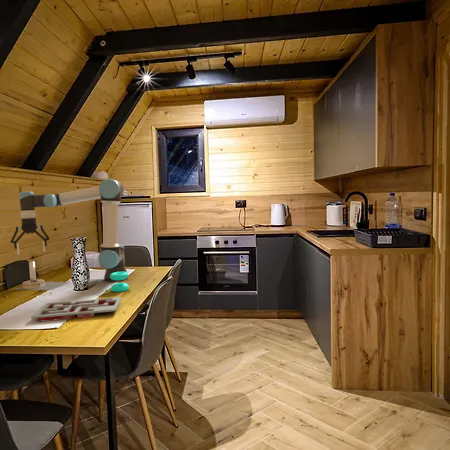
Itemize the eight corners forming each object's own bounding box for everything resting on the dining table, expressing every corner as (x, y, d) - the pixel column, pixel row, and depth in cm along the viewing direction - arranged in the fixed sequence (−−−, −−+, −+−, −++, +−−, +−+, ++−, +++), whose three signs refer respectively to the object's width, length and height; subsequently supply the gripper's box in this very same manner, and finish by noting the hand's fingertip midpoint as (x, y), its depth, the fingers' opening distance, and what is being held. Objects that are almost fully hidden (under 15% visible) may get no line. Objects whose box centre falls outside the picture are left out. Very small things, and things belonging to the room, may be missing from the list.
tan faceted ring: (48, 284, 209) (48, 279, 209) (35, 288, 199) (35, 283, 198) (32, 284, 211) (32, 279, 211) (19, 288, 201) (18, 283, 200)
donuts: (115, 271, 200) (131, 271, 198) (116, 287, 201) (132, 288, 199) (106, 274, 190) (122, 275, 188) (107, 292, 191) (123, 292, 189)
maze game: (31, 323, 146) (30, 316, 145) (47, 309, 165) (46, 303, 165) (116, 316, 151) (115, 309, 151) (121, 303, 171) (121, 297, 170)
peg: (37, 285, 206) (35, 261, 205) (34, 287, 203) (32, 262, 202) (33, 285, 207) (31, 261, 206) (29, 287, 204) (27, 262, 203)
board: (70, 284, 213) (70, 282, 213) (51, 292, 195) (51, 289, 195) (37, 284, 217) (36, 281, 217) (15, 291, 200) (14, 289, 199)
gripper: (51, 216, 211) (54, 250, 213) (4, 218, 199) (7, 254, 201) (52, 216, 205) (55, 251, 206) (3, 219, 192) (6, 256, 194)
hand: (31, 253), depth 203 cm, fingers open, 13 cm apart
